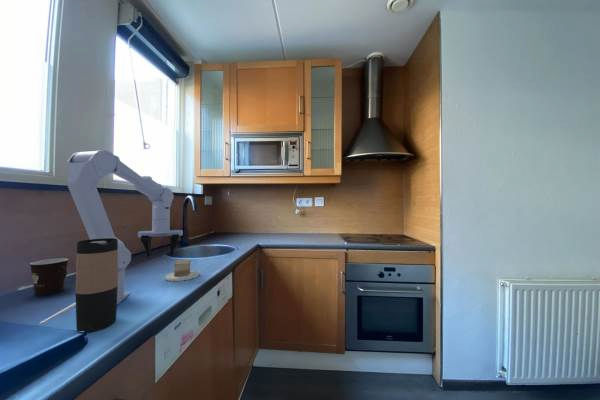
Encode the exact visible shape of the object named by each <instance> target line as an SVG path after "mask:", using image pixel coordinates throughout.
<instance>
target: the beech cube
mask: <svg viewBox="0 0 600 400" xmlns="http://www.w3.org/2000/svg"><path fill="white" fill-rule="evenodd" d="M173 268H174V269H173V271H174V277H180V276H189V274H190V270H191V260H190V259H188V260H186V259H185V260H177V261H175V263H174V266H173Z"/></svg>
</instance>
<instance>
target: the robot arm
mask: <svg viewBox="0 0 600 400" xmlns="http://www.w3.org/2000/svg"><path fill="white" fill-rule="evenodd" d="M66 165H67V168H68V174H67V178H66V179H67V180H66V185H67V189H68V190H69V192H70V193H69V194H70V195H71V197H72V200H73V201H74V204H75V207H76V209H77V212H78V215H79V216H80V219H81V221H82V223H83V227H84V228H85V230H86V234H87V236H88V238H89V240H91V239H104V238H115V239H117V240H118V290H117V306H118V305H119V304H120V303H121V302H122V301H123V300H124V299H126V297H128V296H129V295H130V291H126V292H125V283H126V282H125V280H126V279H125V278H126V276H125V270H127V266H129V264H130V263H131V260H132V253H131V252H130V250H129V249H128V248H127V247H126V246H125V244H124V242H123V241H122V240H120V239H119V238H118V237H116V236H115V233H114V231H113V228H112V225H111V222H110V220H109V218H108V215H107V212H106V210H105V207H104V204H103V201H102V198H101V196H100V193H99V191H98V188H97V185H98V184H100V182H101V180H103V179H104V178H106V177H107V176H108V175H110V174H112V175H115V176H116V177H117V176H118V177H119V178H120V179H123V180H125V181H126V182H128V183H130V184H132V185H133V186H134V187H133V188H134V189H135V190H136V191H137V192H140V193H141V194H143V195H145V196H146V197H147V198H148V200H149V201H150V202H151V203H152V205H151V206H152V209H151V210H152V211H151V212H152V214H151V215H152V216H151V217H152V220H151V225H152V226H151V230H142V231H141V230H140V231H138V232H137V238H140V242H141V243H142V245H143V247H144V248H145V249H144V250H145V251H146V255H147V257H151V256H152V239H153V237H169V236H170V237H169V238H170V256H174V254H175V249H176V246H177V243H178V241H179V239H180V237H181V236H183V233H184V232H183V229H170V227H171V226H170V225H171V223H170V222H171V206H172V202H173V201H174V198H175V195H174V194H173V191H172V189H170V188H169V187H163V186H162V184H161V183H158V182H156V181H155V180H154V179H153V178H152V176H150V175H148V176H147V175H142V176H141V175H139V173H137V172H136V171H134V169H132V168H131V167H130V166H128V165H127V164H125V163H124V162H123V161H121V159H120V157H119V156H118V155H115V154H114V153H113V152H111V151H109V150H107V149H101V150H100V149H99V150H91V151H77V152H74V153H73V154H71V156H70V157H69V158H68V159H67V160H66Z"/></svg>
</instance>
